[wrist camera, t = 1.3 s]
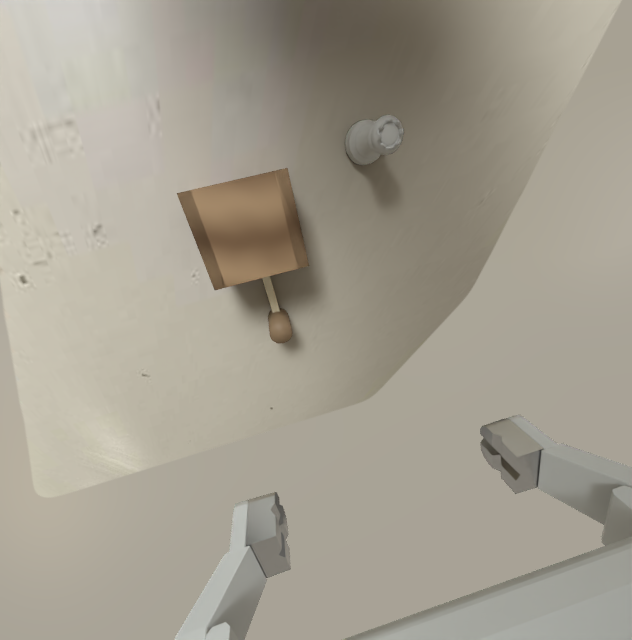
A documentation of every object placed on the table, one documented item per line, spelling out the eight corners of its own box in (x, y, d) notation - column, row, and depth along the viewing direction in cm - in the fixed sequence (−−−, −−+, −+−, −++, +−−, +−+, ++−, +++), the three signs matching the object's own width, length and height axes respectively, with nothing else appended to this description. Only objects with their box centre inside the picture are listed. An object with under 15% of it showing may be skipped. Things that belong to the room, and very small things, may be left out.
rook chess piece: (379, 165, 35) (410, 161, 28) (343, 165, 35) (366, 161, 27) (382, 121, 33) (417, 105, 26) (344, 120, 33) (369, 103, 26)
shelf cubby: (194, 190, 33) (176, 193, 25) (280, 170, 34) (287, 167, 26) (222, 268, 37) (214, 290, 30) (298, 249, 38) (309, 265, 30)
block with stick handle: (224, 210, 34) (219, 214, 30) (265, 200, 35) (267, 203, 30) (263, 330, 42) (264, 348, 37) (297, 321, 42) (302, 337, 38)
